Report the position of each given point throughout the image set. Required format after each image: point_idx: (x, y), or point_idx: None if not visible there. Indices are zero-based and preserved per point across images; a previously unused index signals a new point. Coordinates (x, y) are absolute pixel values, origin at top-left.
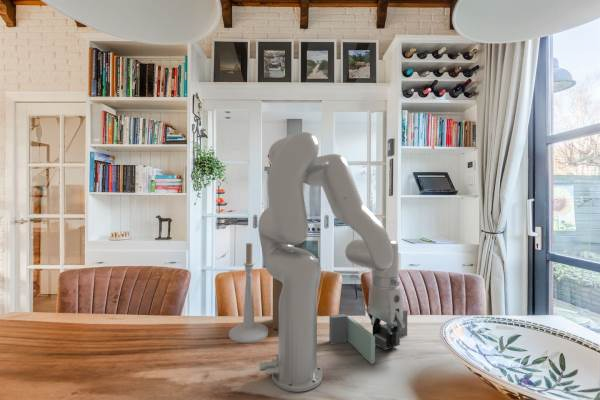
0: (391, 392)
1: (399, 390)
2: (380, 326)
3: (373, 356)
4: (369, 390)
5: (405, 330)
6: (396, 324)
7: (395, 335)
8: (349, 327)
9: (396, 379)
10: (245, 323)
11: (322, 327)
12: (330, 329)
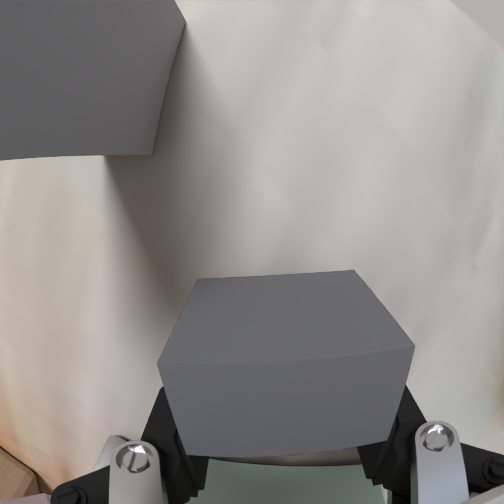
0: None
1: (489, 436)
2: (194, 448)
3: (376, 489)
4: None
5: (169, 17)
6: (464, 491)
7: (423, 422)
8: None
9: (470, 428)
10: None
11: (5, 420)
12: None
